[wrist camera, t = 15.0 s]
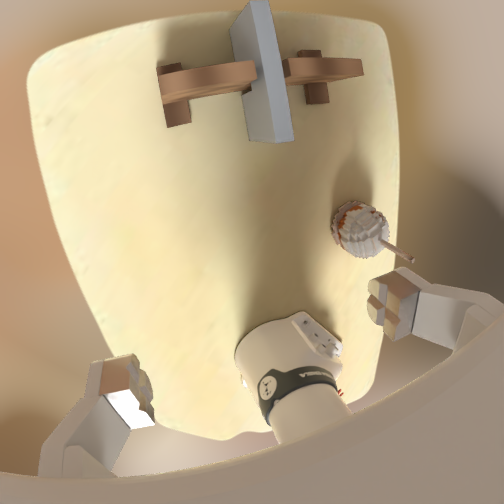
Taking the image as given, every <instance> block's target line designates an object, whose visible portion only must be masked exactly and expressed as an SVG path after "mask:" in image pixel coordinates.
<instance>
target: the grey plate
mask: <svg viewBox="0 0 504 504" xmlns="http://www.w3.org/2000/svg"><path fill="white" fill-rule="evenodd" d="M229 32H230V37H231V43H232V48H233V53H234V58H235V62H241V61H251V60H254V63H255V69H256V74H257V79H256V80H254V81H252V82H251V87H252V91H250V92H248V93H246V94H244V95H242V102H243V107H244V113H245V118H246V124H247V130H248V135H249V141H258V142H267V143H276V144H277V143H283V142H289V141H294V134H293V127H292V121H291V115H290V108H289V102H288V96H287V90H286V85H285V79H284V74H283V68H282V63H281V58H280V52H279V47H278V42H277V37H276V33H275V28H274V23H273V19H272V14H271V10H270V5H269V1H268V0H258V1H249V2H248V3H247V5H246V6H245V8H244V9H243V10H242V12H241V13H240V14H239V16H238V17H237V19H236V20H235V22H234V23H233V24H232V26H231V27H230V29H229Z"/></svg>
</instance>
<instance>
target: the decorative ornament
mask: <svg viewBox="0 0 504 504" xmlns="http://www.w3.org/2000/svg"><path fill="white" fill-rule="evenodd" d="M338 210H339V213H337V214H336V215H334V217H335V219H334V220H333V223H334V224H332V225H331V226H332V228H333V232H332V233H331V234H332V236H333V238H334V240H335V243H336V244H337V245H338V244H340V246H341V247H342V248H343V249H344V250H346V251H347V252H348V253H350V254H352V255H353V256H355V257H359V258H361V257H362V258H363V259H364V258H366V259H367V258H369V257H371V256H372V257H374V256H375V255H377V254H378V253H379V252H380V251H382V250H383V249H384V248H385V247H386V248H388V249H389V250H391V251H393V252H394V253H396V254H398V255H399V256H401V257H402V258H404V259H405V260H407V261H409V262H410V263H413V262H414V261H415V259H414V257H412V256H410V255H409V254H407V253H405V252H404V251H402V250H400V249H399V248H397V247H395V246H394V245H392V244H390V243H388V241H389V239H388V237H389V233H390V232H389V229H388V227H389V225H388V222H387V221H386V218H385V217H384V216H383V214H382V213H381V212H379V211H377V212H376V209H375V208H374V207H372V206H368V205H365V203H361V202H357V201H354V202H352V203H351V202H347V203H346V204H344V205H343V206H342V207H340V208H339V209H338Z"/></svg>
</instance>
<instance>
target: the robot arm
mask: <svg viewBox="0 0 504 504" xmlns="http://www.w3.org/2000/svg"><path fill="white" fill-rule="evenodd" d="M368 291H369V293H370V294H371V295H370V297H369V299H368V300H367V310H368V314H369V316H370V318H371V319H372V321H373V322H374V323H375V324H377V325H381V326H383V332H384V333H385V334H386V335H387V336H388V337H390V339H391V340H392V341H393V342H394V341H396V340H398V339H400V338H402V337H404V336H406V335H408V334H410V333H412V334H413V335H416V336H419V337H421V338H424V339H426V340H429V341H432V342H434V343H437V344H440V345H442V346H445V347H448V348H450V349H453V353H452V355H451V356H450V357H448V358H447V359H446V360H444V361H443V362H441V363H440V364H438V365H437V366H435V367H434V368H432V369H431V370H429V371H428V372H427V373H425V374H423V375H422V376H420V377H419V378H417V379H416V380H414V381H412V382H411V383H409V384H407V385H406V386H404V387H402V388H401V389H399V390H397V391H396V392H394V393H392V394H390V395H388V396H387V397H385V398H383V399H381V400H379V401H377V402H376V403H374V404H372V405H370V406H368V407H366V408H364V409H362V410H360V411H358V412H356V413H354V414H353V413H352V411H351V410H350V409H349V408H348V407H347V405H346V404H345V403H344V401H343V400H342V399H341V396H342V395H343V394H344V393H341V394H340V395H339V393H340V392H341V389H340V390H339V391H338V390H337V386H336V380H337V378H338V377H339V375H340V373H341V371H342V363H341V361H340V359H339V356H340V354H341V352H342V349H343V345H342V343H341V342H340V341H339V340H338V339H337V338H336V337H334V336H333V335H332V334H331V333H330V332H329V331H327V330H326V329H325V328H324V327H323V326H321V325H320V324H319V323H318V322H317V321H315V320H314V319H313V318H312V317H311V316H309V315H308V314H307V313H306V312H304V311H301V312H298V313H296V314H294V315H292V316H290V317H288V318H285V319H280V320H274V321H270V322H267V323H265V324H262V325H260V326H258V327H257V328H255V329H253V330H252V331H251V332H249V333H248V334H247V335H246V336H245V337H244V338H243V339H242V341H241V342H240V344H239V345H238V347H237V349H236V353H235V363H236V366H237V368H238V370H239V371H240V373H241V381H242V384H243V386H244V387H246V388H248V389H249V391H250V393H251V394H252V396H253V398H254V400H255V402H256V404H257V405H258V407H259V408H260V409H261V411H262V415H263V417H264V419H265V420H266V422H267V424H268V425H269V426H271V427H272V430H273V432H274V434H275V437H276V439H277V441H278V443H279V445H276V446H273V447H270V448H267V449H263V450H260V451H257V452H254V453H250V454H247V455H244V456H240V457H236V458H233V459H229V460H225V461H221V462H217V463H212V464H208V465H203V466H198V467H194V468H188V469H183V470H177V471H171V472H165V473H157V474H150V475H141V476H130V477H117V476H116V475H115V474H113V473H112V472H111V470H112V468H113V466H114V464H115V462H116V460H117V458H118V456H119V454H120V452H121V450H122V448H123V446H124V444H125V442H126V440H127V439H128V437H129V435H130V432H131V429H135V428H140V427H145V426H150V425H155V421H154V408H153V407H152V405H151V404H150V402H151V400H152V399H153V391H152V387H151V383H150V380H149V378H148V376H147V374H146V372H145V371H143V370H141V369H140V362H139V360H138V359H137V357H136V355H135V354H133V353H132V354H128V355H123V356H118V357H112V358H108V359H104V360H98V361H93V362H92V363H91V364H90V369H89V373H88V379H87V384H86V390H85V396H84V398H81V399H80V400H79V401H78V402H77V403H76V405H75V406H74V407H73V408H72V409H71V410H70V412H69V413H68V414H67V416H66V417H65V418H64V419H63V420H62V421H61V423H60V424H59V425H58V426H57V427H56V429H55V430H54V431H53V432H52V434H51V435H50V436H49V437H48V439H47V440H46V441H45V442H44V444H43V445H42V449H41V455H40V462H39V469H38V477H36V476H35V477H34V476H25V475H18V474H11V473H5V472H0V504H504V304H502V303H501V302H499V301H498V300H497V299H495V298H494V297H492V296H491V295H489V294H487V293H482V292H477V291H471V290H466V289H461V288H456V287H450V286H444V285H439V284H433V285H431V284H430V283H429V282H427V281H425V280H424V279H423V278H421V277H420V276H418V275H417V274H415V273H414V272H412V271H411V270H409V269H408V268H406V267H400V268H398V269H395V270H393V271H391V272H389V273H387V274H384V275H382V276H379V277H377V278H374V279H372V280H370V281H369V284H368ZM304 321H305V322H304Z"/></svg>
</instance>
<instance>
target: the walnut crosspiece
mask: <svg viewBox="0 0 504 504" xmlns="http://www.w3.org/2000/svg"><path fill="white" fill-rule="evenodd" d="M298 57H299V58H287V59H285V60H283V61H281V63H282V68H283V74H284V79H285V85H286V86H289V85H304V90H305V96H306V103H307V105H309V104H323V103H329V96H328V90H327V84H326V83H327V82H332V81H337V80H341V79H346V78H351V77H357V76H362V75H364V73H363V67H362V61H361V59H349V58H322V56H321V50H301V51H299V52H298ZM156 70H157V76H158V81H159V87H160V92H161V98H162V103H163V108H164V114H165V119H166V124H167V128H169V127H174V126H178V125H182V124H186V123H191V117H190V111H189V106H188V101H187V100H190V99H195V98H200V97H205V96H211V95H217V94H223V93H229V92H235V91H242V90H250V89H252V87H251V82H252V81H254V80H256V79H257V74H256V69H255V63H254V60H251V61H241V62H232V63H224V64H217V65H211V66H205V67H199V68H193V69H188V70H183V71H182V68H181V63H176V64H171V65H166V66H162V67H157V68H156Z"/></svg>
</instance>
